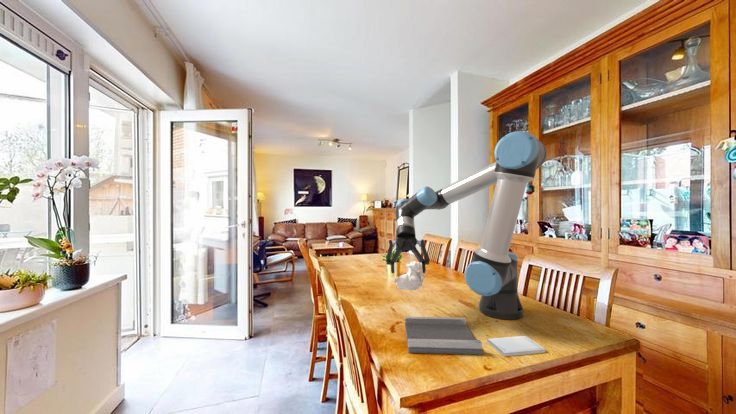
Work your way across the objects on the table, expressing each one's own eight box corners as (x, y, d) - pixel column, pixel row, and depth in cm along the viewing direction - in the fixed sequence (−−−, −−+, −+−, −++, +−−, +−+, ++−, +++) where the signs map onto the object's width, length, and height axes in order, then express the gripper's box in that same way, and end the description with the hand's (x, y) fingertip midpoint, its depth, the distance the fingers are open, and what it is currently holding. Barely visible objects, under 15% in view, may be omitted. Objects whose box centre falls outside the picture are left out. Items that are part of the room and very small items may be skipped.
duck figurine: (399, 298, 94) (410, 277, 88) (388, 281, 99) (399, 260, 93) (425, 292, 100) (437, 271, 94) (414, 276, 105) (425, 256, 99)
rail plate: (464, 325, 92) (464, 317, 92) (482, 354, 74) (482, 343, 74) (404, 324, 93) (404, 315, 93) (408, 352, 75) (408, 342, 75)
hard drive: (504, 352, 73) (545, 348, 75) (486, 338, 81) (524, 334, 83) (504, 358, 73) (545, 354, 75) (486, 343, 81) (524, 339, 83)
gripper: (431, 235, 112) (438, 286, 96) (380, 236, 114) (379, 285, 98) (432, 223, 106) (441, 274, 90) (379, 224, 108) (377, 274, 92)
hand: (408, 280), depth 94 cm, fingers closed on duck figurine, 8 cm apart
